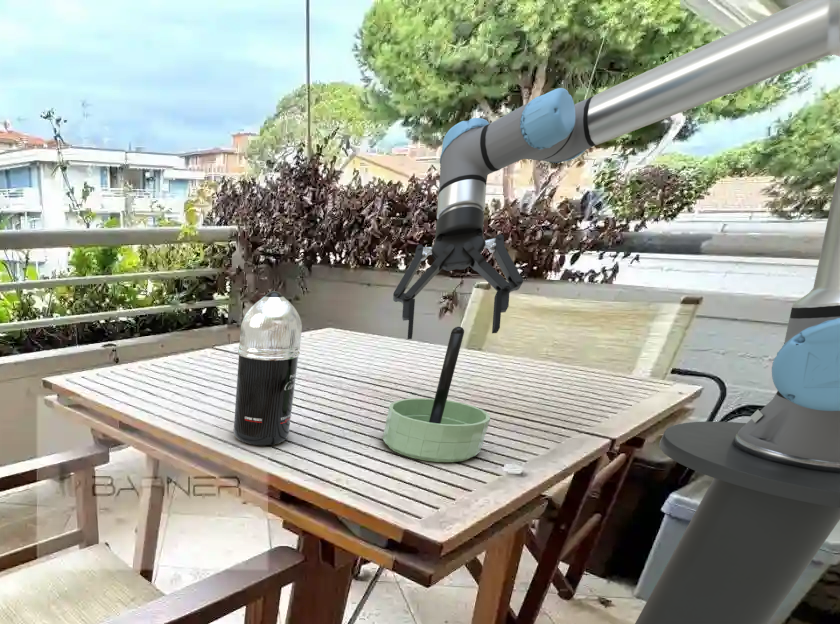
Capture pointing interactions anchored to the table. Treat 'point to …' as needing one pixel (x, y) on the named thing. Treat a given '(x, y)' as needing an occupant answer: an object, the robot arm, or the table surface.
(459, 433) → the bowl
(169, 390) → the table surface
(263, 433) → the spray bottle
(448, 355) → the grey disc on rod
